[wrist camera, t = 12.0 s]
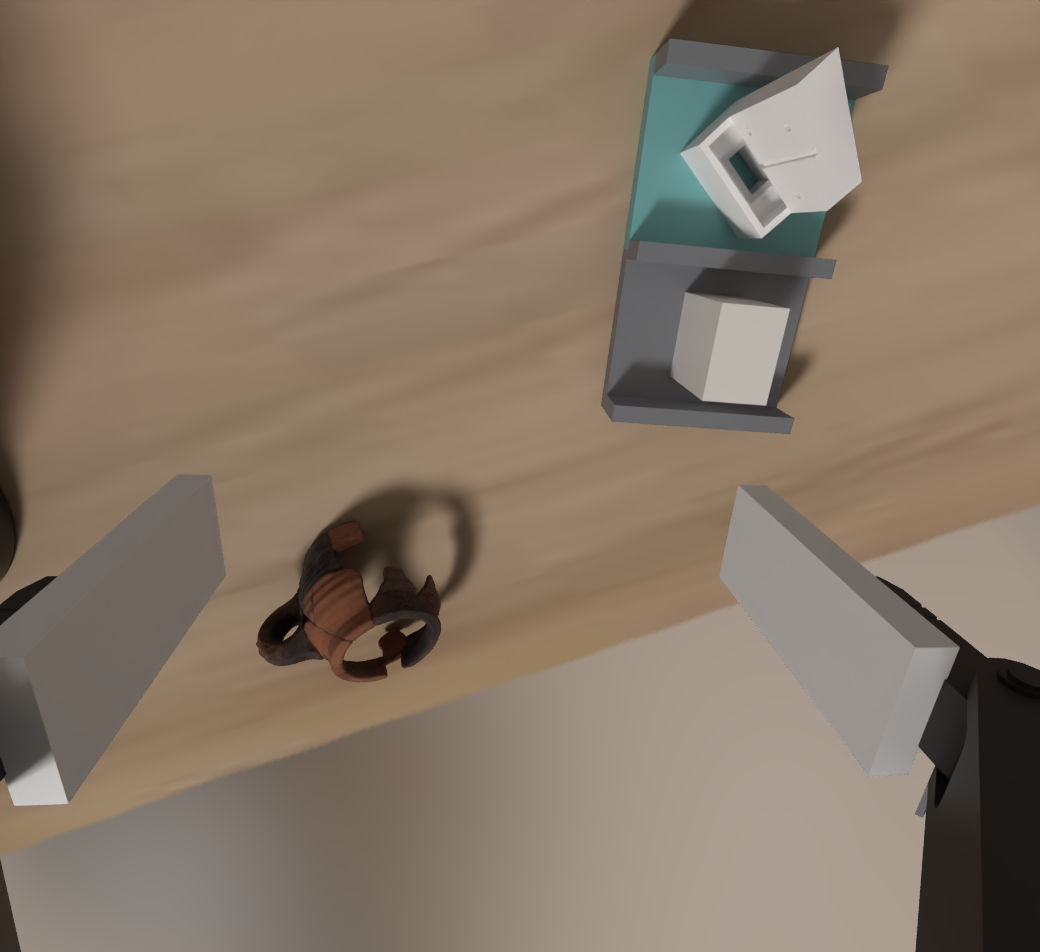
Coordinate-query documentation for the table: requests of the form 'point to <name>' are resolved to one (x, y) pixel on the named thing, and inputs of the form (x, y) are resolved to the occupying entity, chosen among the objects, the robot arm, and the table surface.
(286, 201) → the table surface
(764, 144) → the white wedge bracket
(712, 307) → the white rectangular block
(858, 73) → the two-compartment cubby shelf
